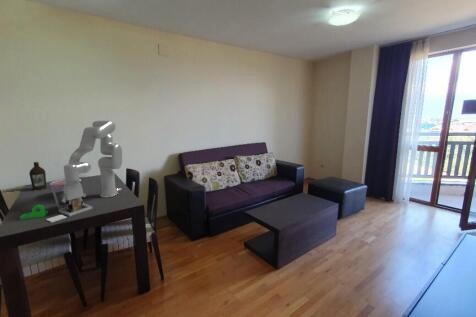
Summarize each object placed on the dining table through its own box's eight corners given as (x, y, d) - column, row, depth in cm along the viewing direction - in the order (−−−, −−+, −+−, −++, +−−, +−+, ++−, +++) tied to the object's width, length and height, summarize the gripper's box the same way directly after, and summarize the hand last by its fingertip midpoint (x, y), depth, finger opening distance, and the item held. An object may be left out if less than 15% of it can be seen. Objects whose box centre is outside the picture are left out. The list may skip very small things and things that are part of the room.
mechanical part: (48, 213, 149) (46, 201, 148) (44, 216, 144) (42, 205, 142) (25, 216, 145) (23, 204, 144) (20, 219, 139) (18, 207, 138)
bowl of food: (87, 192, 193) (86, 179, 191) (66, 200, 174) (64, 185, 172) (67, 191, 196) (65, 178, 194) (44, 198, 177) (42, 184, 175)
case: (79, 203, 167) (77, 185, 165) (94, 208, 158) (92, 189, 155) (55, 210, 154) (52, 191, 151) (69, 216, 144) (67, 195, 142)
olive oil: (31, 189, 200) (27, 162, 196) (47, 187, 208) (43, 160, 204) (32, 192, 193) (27, 163, 189) (48, 189, 200) (44, 162, 196)
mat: (61, 215, 145) (61, 214, 145) (66, 217, 142) (66, 216, 142) (46, 220, 138) (46, 219, 138) (51, 222, 135) (51, 221, 135)
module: (78, 208, 157) (76, 196, 156) (81, 209, 155) (80, 198, 153) (70, 211, 153) (68, 199, 151) (73, 212, 150) (72, 200, 149)
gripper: (83, 179, 160) (86, 203, 162) (54, 184, 145) (58, 211, 148) (89, 180, 156) (91, 205, 159) (60, 186, 141) (64, 213, 144)
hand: (75, 207), depth 153 cm, fingers closed on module, 5 cm apart
